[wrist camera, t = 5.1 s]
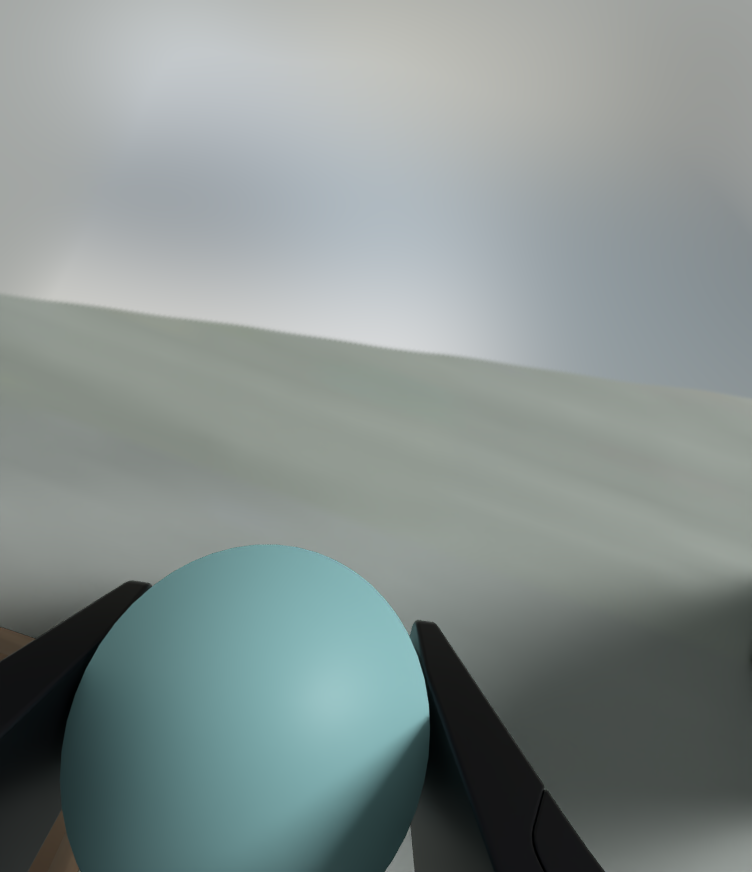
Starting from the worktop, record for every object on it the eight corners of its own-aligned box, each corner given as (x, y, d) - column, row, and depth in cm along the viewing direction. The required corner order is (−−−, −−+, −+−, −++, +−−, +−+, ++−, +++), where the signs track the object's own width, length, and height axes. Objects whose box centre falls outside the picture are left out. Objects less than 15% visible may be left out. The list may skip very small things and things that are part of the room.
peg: (336, 779, 14) (371, 1021, 6) (177, 725, 14) (-24, 890, 6) (385, 609, 16) (464, 602, 8) (244, 561, 16) (168, 502, 8)
